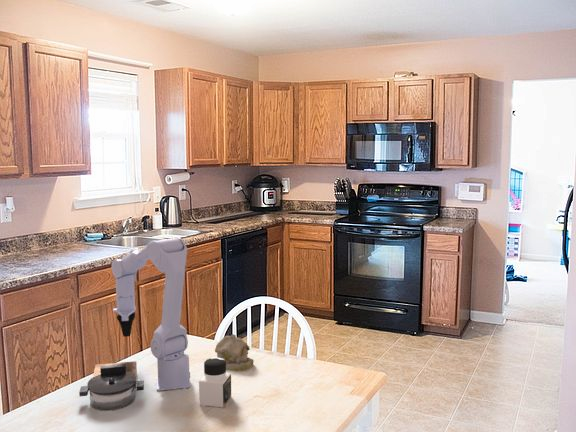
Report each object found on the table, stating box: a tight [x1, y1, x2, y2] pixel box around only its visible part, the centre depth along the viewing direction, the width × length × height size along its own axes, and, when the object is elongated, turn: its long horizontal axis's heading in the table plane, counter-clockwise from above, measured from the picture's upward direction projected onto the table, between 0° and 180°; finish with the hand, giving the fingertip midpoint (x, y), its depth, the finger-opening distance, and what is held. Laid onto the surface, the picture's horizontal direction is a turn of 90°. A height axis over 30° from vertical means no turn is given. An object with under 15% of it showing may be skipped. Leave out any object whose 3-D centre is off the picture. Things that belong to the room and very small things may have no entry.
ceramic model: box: [214, 334, 255, 372], centre depth 181 cm, size 14×11×10 cm
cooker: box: [78, 360, 145, 412], centre depth 160 cm, size 17×22×4 cm
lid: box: [86, 364, 137, 394], centre depth 154 cm, size 13×13×3 cm
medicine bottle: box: [198, 356, 232, 408], centre depth 154 cm, size 7×7×12 cm
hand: (126, 335), depth 180 cm, fingers closed
